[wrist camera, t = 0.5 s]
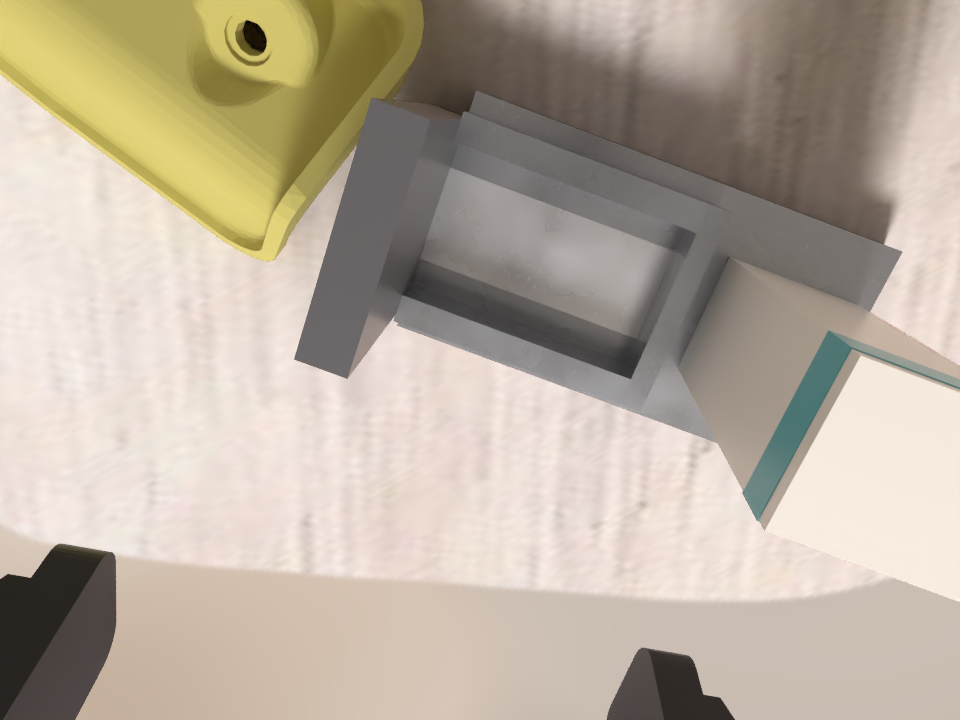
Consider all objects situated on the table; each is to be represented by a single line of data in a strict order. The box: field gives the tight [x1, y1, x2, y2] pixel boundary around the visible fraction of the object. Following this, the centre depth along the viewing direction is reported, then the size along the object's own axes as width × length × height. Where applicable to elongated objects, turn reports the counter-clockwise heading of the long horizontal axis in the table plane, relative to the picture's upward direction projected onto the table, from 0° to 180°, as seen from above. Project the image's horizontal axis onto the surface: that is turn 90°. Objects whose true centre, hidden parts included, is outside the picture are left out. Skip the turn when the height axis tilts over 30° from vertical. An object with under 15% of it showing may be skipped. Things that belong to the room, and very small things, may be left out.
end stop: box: [294, 98, 462, 379], centre depth 24 cm, size 2×7×10 cm, turn 160°
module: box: [678, 257, 960, 602], centre depth 23 cm, size 5×5×12 cm
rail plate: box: [394, 90, 902, 443], centre depth 28 cm, size 16×9×4 cm, turn 70°
